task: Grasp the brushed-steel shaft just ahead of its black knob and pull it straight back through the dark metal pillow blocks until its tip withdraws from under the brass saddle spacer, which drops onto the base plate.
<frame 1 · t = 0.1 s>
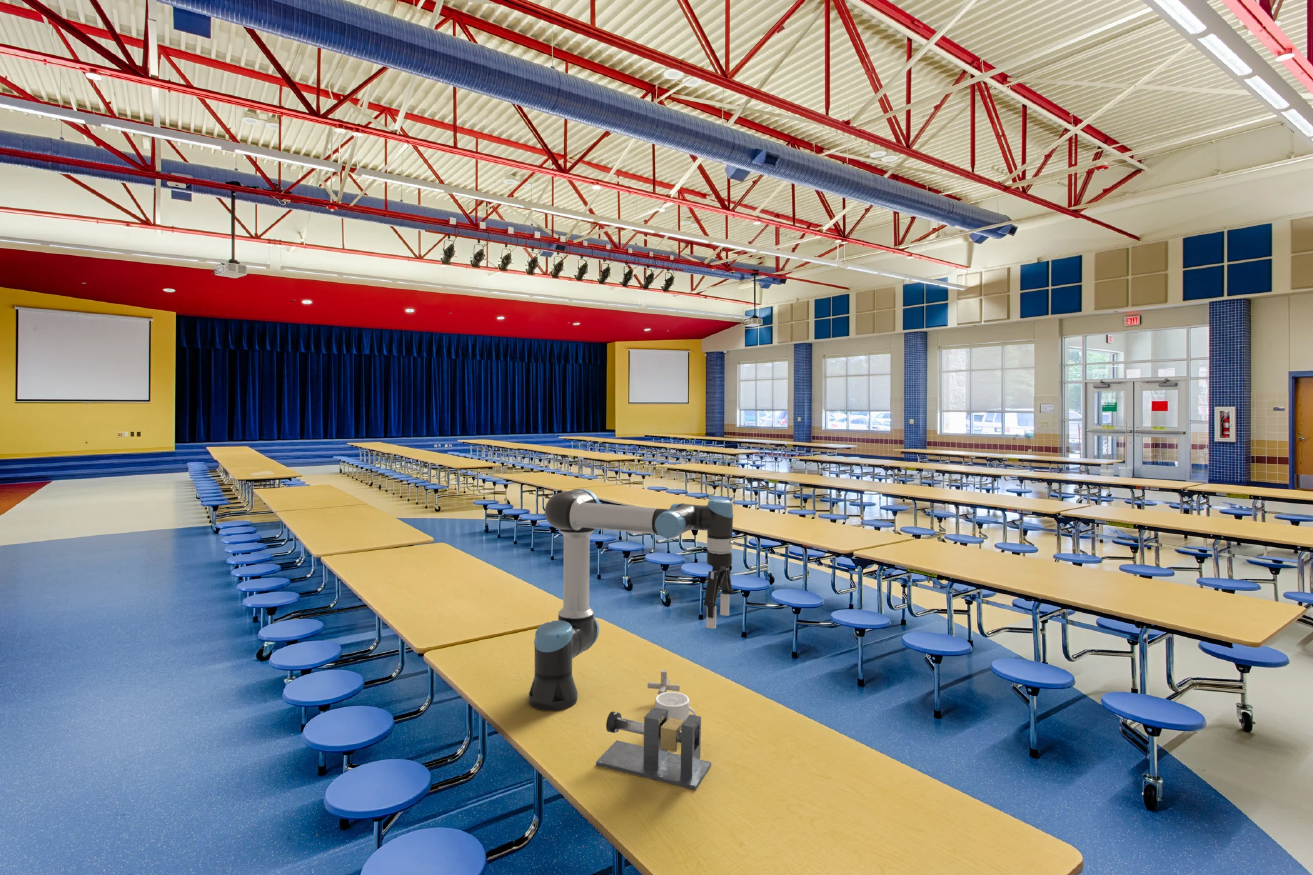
hand: (718, 621, 197), 28 cm above the table, fingers open, 13 cm apart
shaft: (650, 730, 168), point 9 cm above the table, slide at 0.0 cm, touching spacer
spacer: (672, 745, 166), point 6 cm above the table, touching shaft
bearing block: (655, 765, 168), on the table
pipe connector: (663, 703, 205), on the table
mug: (676, 730, 187), on the table
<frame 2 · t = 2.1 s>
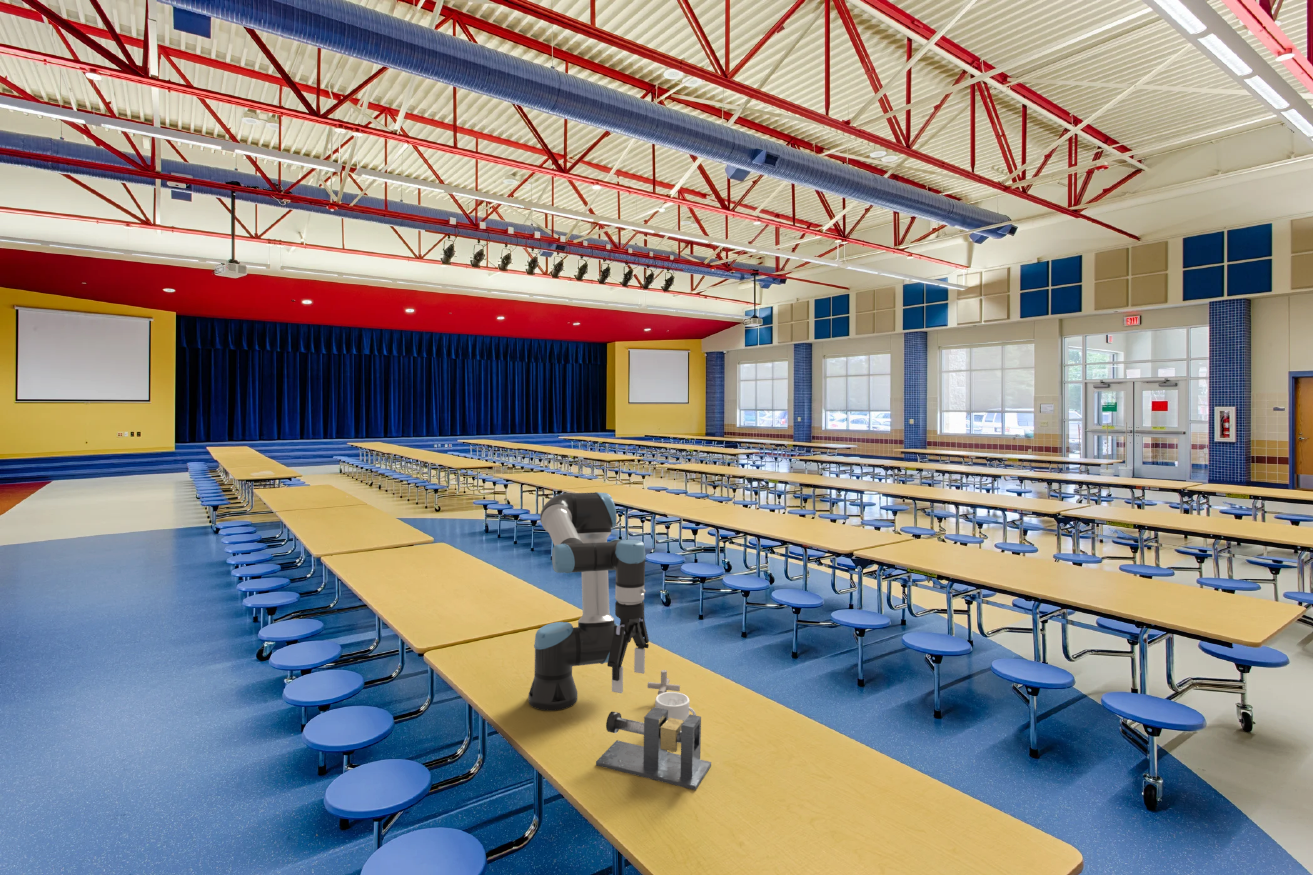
hand: (628, 681, 170), 20 cm above the table, fingers open, 13 cm apart
nothing on the table moved.
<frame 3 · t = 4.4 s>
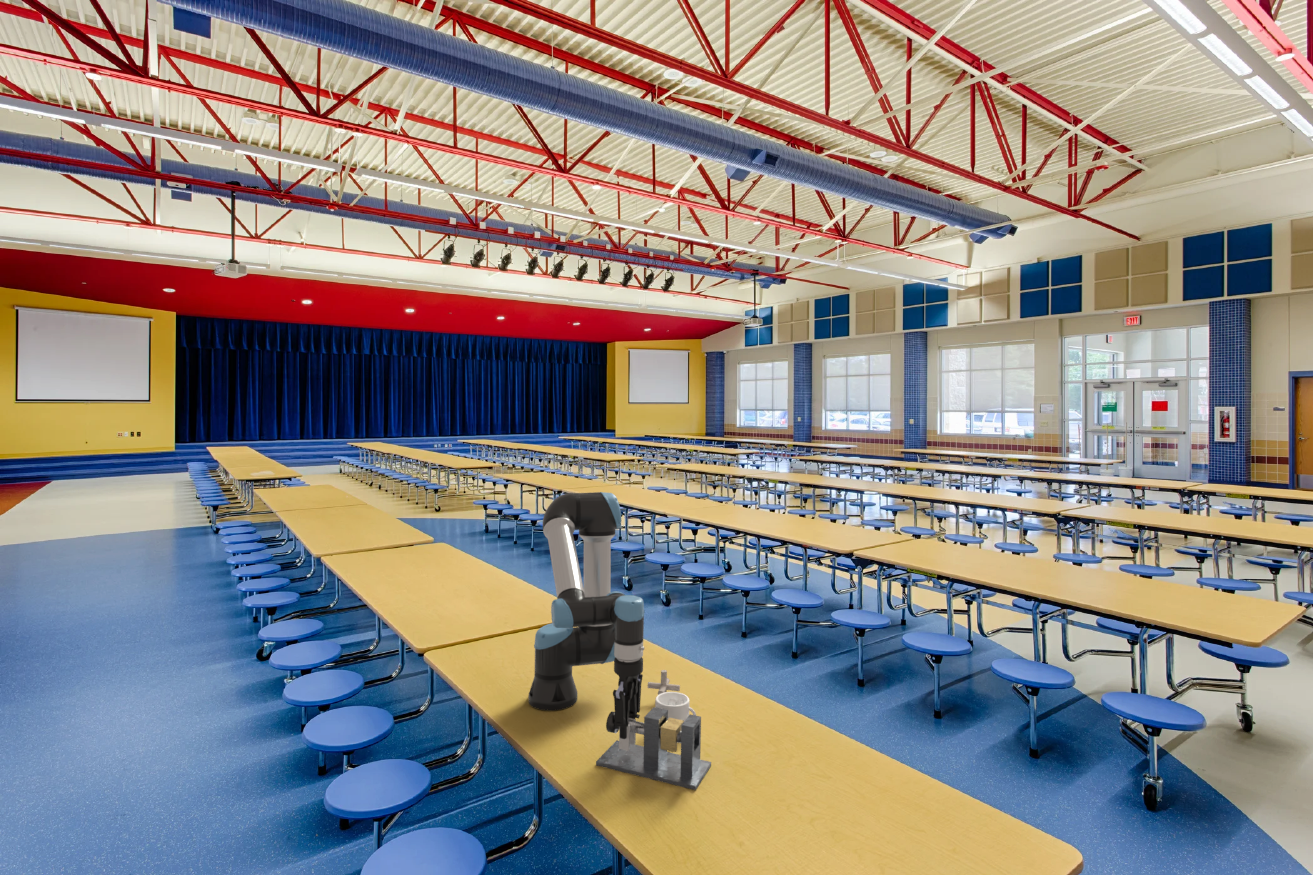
hand: (627, 745, 171), 4 cm above the table, fingers closed on shaft, 3 cm apart
shaft: (650, 730, 168), point 9 cm above the table, slide at 0.0 cm, touching gripper, spacer
everything else where it was.
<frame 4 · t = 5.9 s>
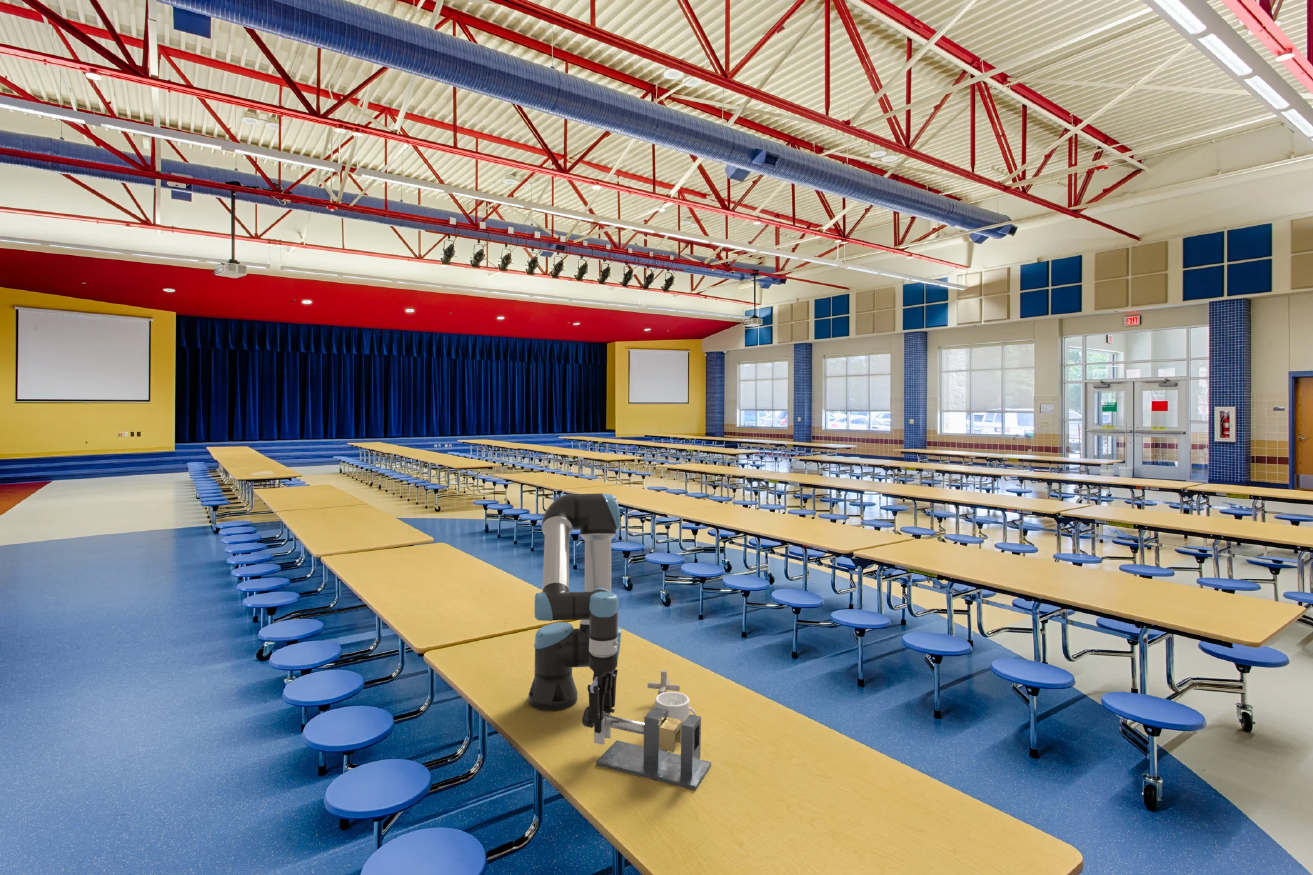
hand: (602, 739, 174), 4 cm above the table, fingers closed on shaft, 3 cm apart
shaft: (625, 724, 171), point 9 cm above the table, slide at 7.1 cm, touching gripper
spacer: (670, 744, 166), point 6 cm above the table, touching bearing block
everything else where it was.
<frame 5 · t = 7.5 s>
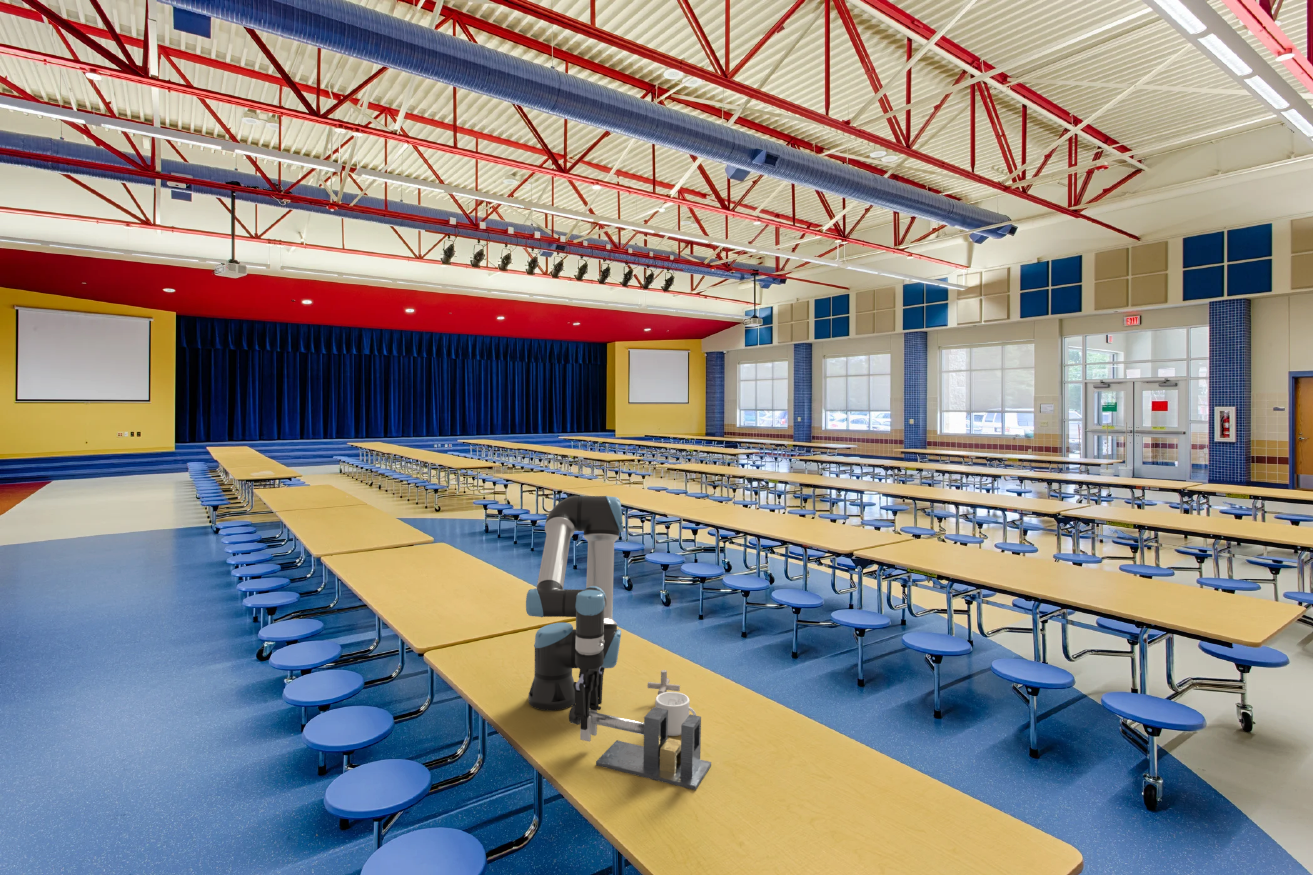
hand: (588, 736, 175), 4 cm above the table, fingers closed on shaft, 3 cm apart
shaft: (611, 721, 172), point 9 cm above the table, slide at 11.1 cm, touching gripper
spacer: (671, 765, 166), point 1 cm above the table, touching bearing block
everything else where it was.
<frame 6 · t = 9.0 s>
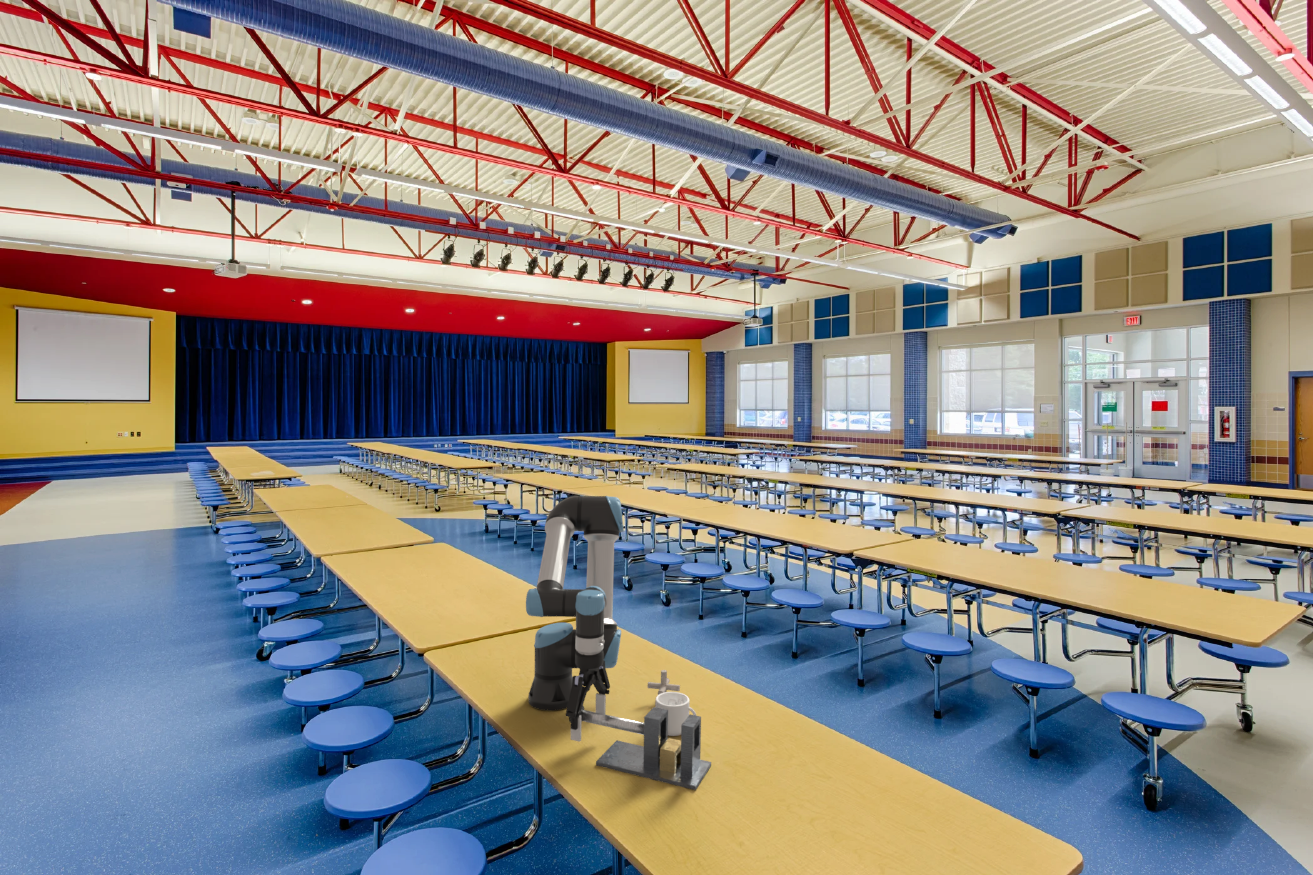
hand: (588, 728, 175), 6 cm above the table, fingers open, 13 cm apart
shaft: (611, 721, 172), point 9 cm above the table, slide at 11.2 cm
everything else where it was.
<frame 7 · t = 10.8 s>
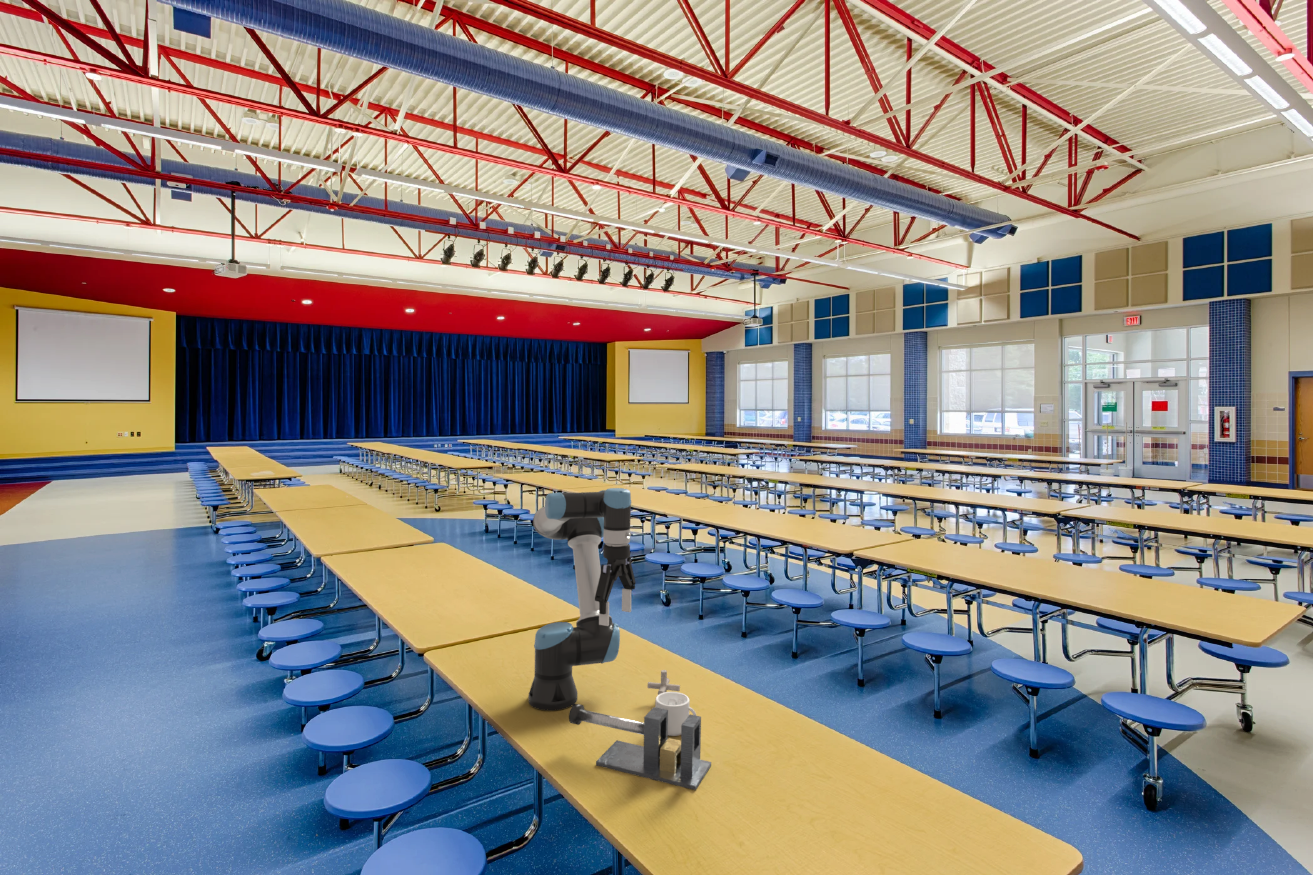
hand: (615, 617, 186), 32 cm above the table, fingers open, 13 cm apart
nothing on the table moved.
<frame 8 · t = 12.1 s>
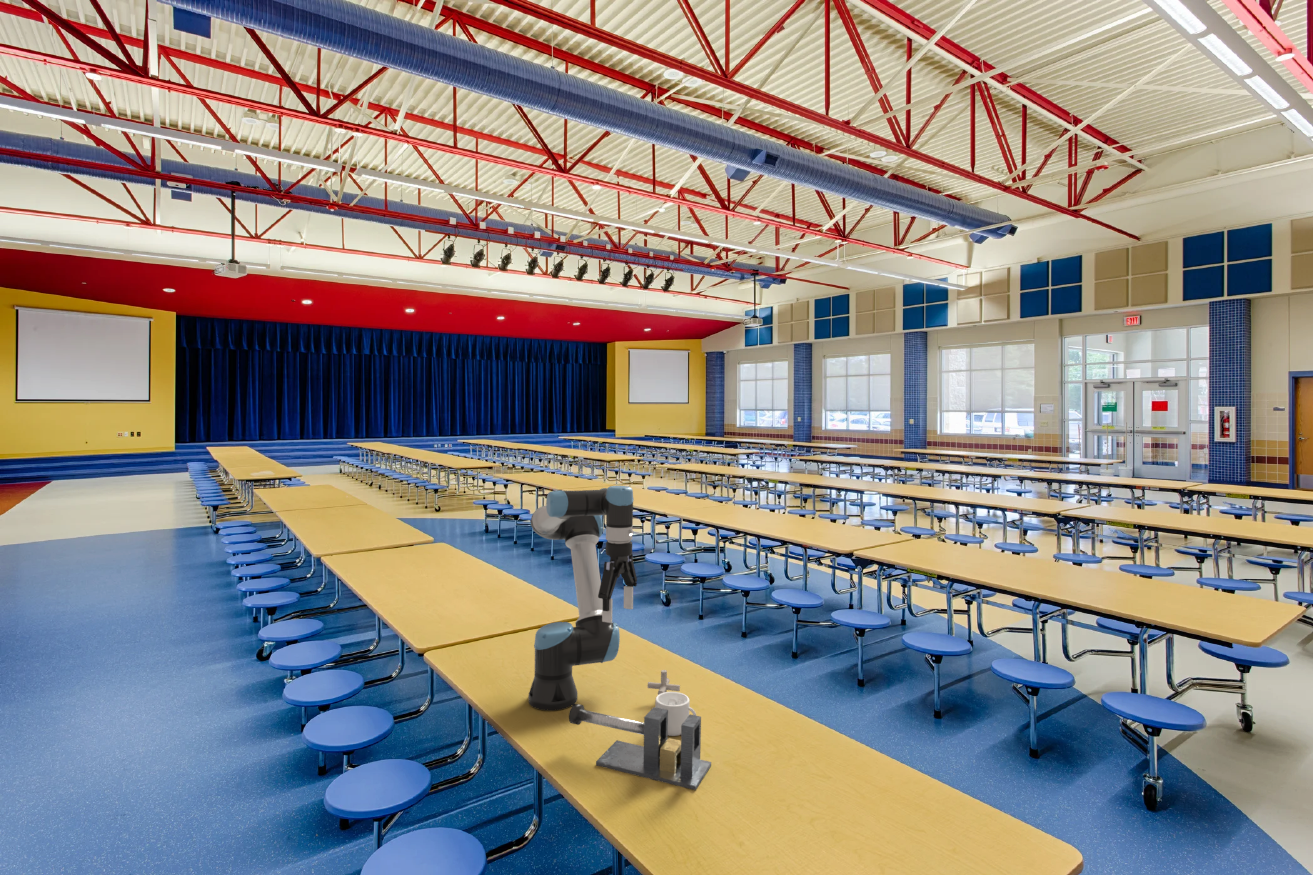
hand: (618, 615, 187), 33 cm above the table, fingers open, 13 cm apart
nothing on the table moved.
at the end: shaft slide at 11.2 cm; spacer point 1.0 cm above the table; spacer inside the target area (2.1 cm from its centre), point 1.0 cm above the table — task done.
